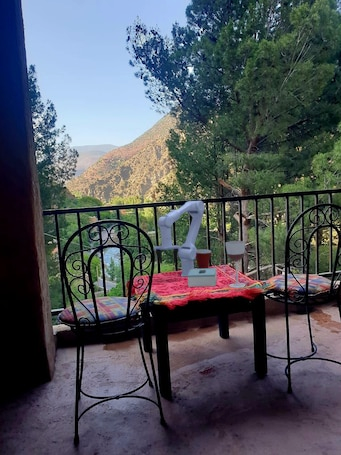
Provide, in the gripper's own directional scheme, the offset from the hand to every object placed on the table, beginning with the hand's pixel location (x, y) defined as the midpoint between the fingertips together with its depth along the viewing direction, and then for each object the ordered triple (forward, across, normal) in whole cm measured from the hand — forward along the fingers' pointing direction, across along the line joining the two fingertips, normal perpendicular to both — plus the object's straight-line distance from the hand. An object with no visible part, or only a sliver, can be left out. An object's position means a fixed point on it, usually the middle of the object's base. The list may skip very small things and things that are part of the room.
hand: (168, 262), depth 199 cm
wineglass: (+10, +37, -12) cm, 40 cm away
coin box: (+10, +19, -5) cm, 22 cm away
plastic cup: (+10, +17, +24) cm, 32 cm away
